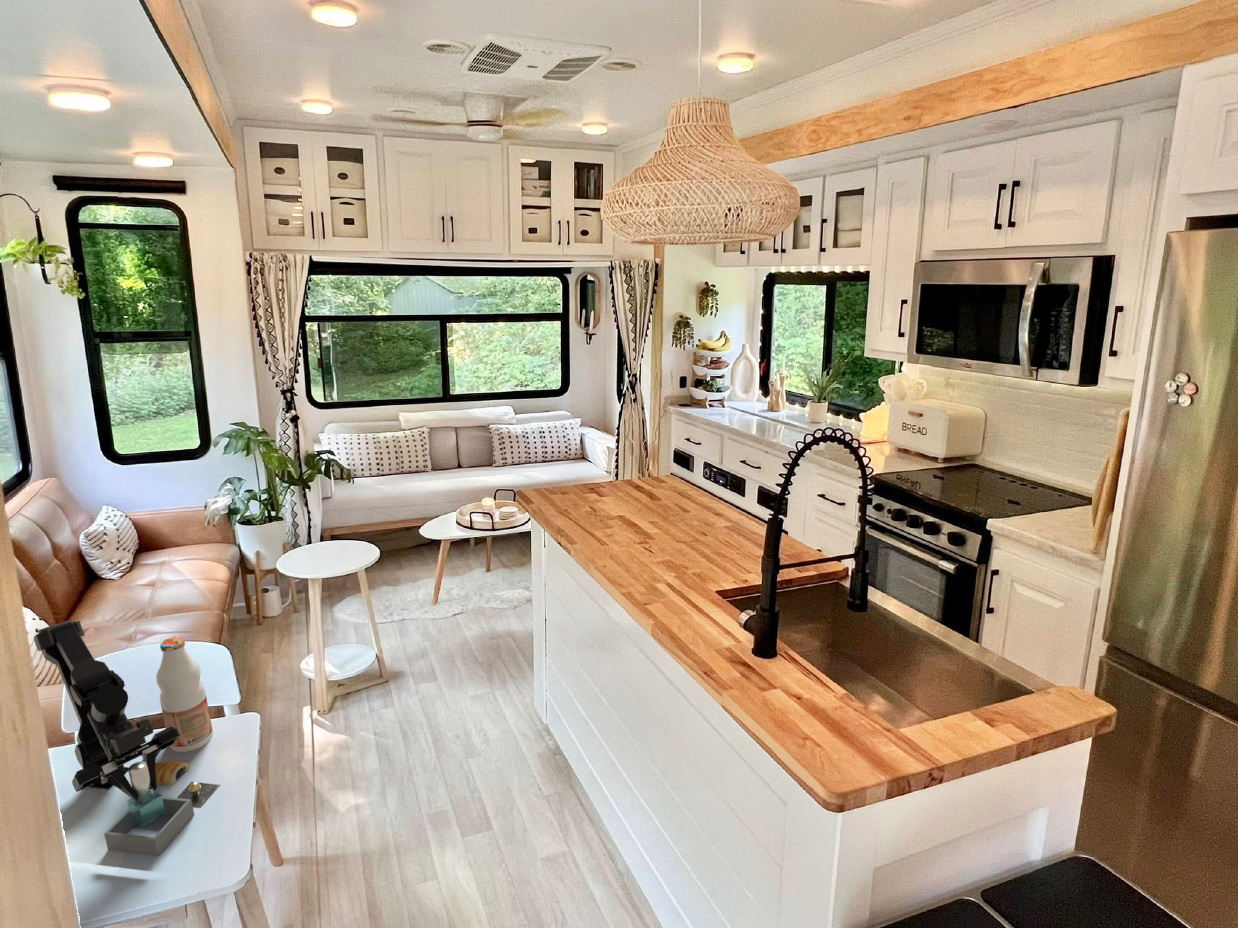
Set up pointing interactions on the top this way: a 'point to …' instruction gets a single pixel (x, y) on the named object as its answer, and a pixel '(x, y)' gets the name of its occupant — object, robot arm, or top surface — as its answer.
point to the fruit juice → (183, 696)
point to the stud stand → (198, 793)
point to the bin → (145, 844)
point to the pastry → (169, 771)
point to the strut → (144, 795)
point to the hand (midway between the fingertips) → (146, 794)
